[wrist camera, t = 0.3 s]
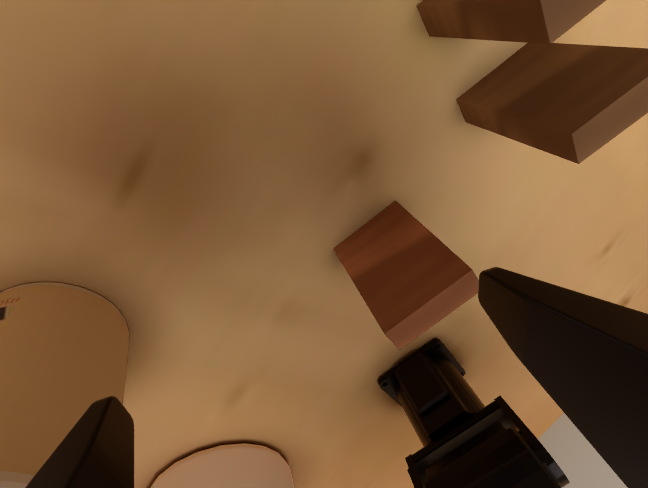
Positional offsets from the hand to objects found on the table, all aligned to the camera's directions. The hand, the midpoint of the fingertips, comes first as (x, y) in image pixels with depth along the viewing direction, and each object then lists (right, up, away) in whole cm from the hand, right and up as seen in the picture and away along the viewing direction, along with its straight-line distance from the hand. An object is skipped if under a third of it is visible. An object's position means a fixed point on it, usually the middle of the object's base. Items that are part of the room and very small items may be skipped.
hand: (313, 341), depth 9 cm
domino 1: (+3, +3, +15) cm, 16 cm away
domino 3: (+10, +12, +13) cm, 20 cm away
